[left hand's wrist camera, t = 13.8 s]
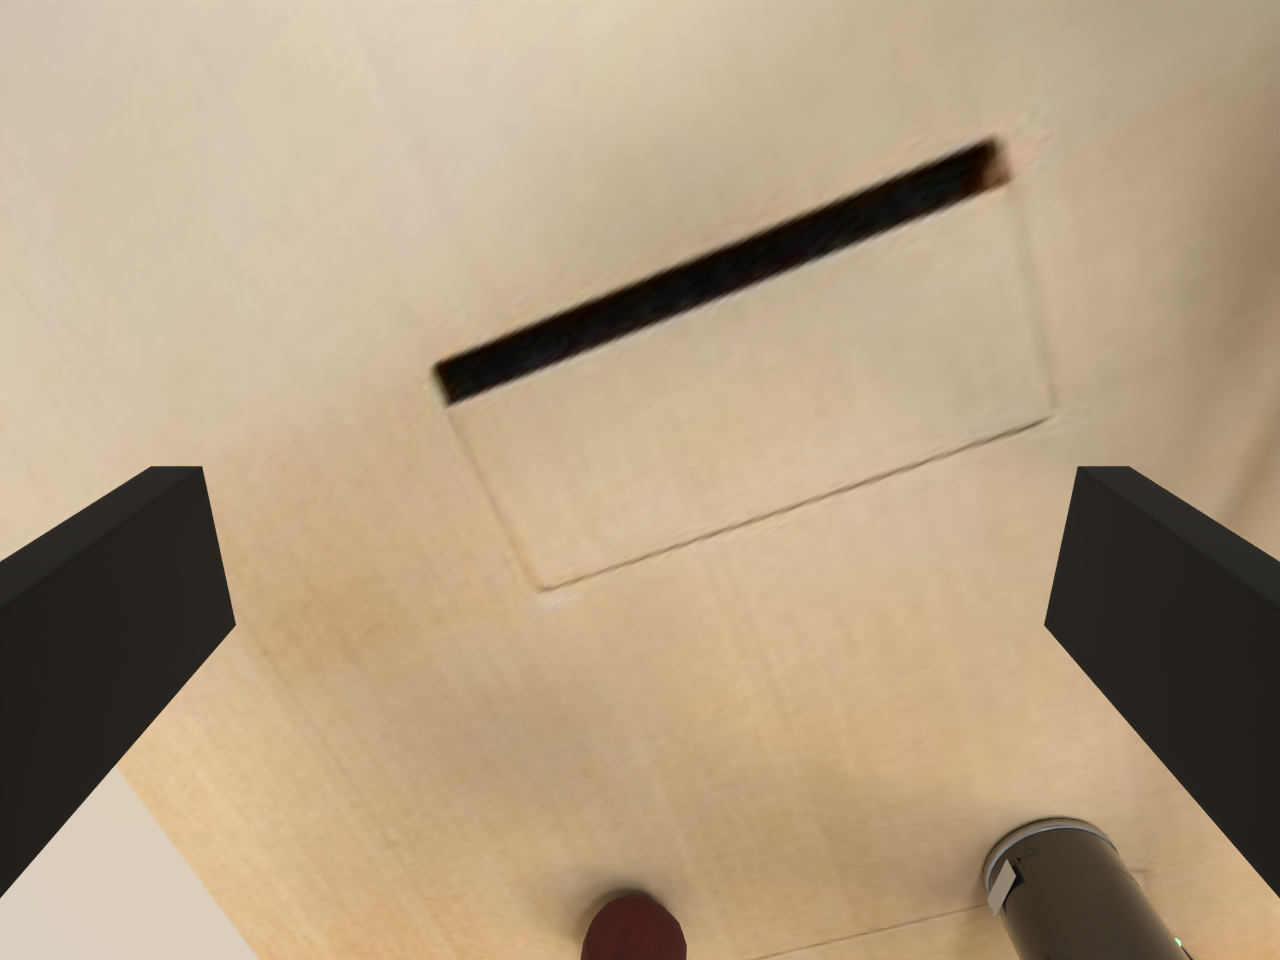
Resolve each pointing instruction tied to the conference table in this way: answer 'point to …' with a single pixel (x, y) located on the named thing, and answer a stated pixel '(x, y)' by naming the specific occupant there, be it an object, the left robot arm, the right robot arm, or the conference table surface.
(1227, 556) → the left robot arm
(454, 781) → the conference table surface
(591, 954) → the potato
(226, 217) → the conference table surface
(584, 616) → the conference table surface
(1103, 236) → the conference table surface
